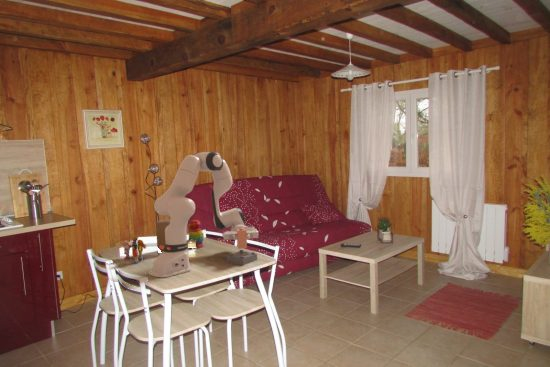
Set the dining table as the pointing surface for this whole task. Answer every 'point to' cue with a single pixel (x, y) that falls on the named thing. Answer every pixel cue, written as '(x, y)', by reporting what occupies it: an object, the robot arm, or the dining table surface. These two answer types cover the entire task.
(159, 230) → the block
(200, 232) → the stacking bear
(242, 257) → the charcoal base brick
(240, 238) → the terracotta brick
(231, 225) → the robot arm
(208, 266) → the dining table surface
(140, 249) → the doll family
